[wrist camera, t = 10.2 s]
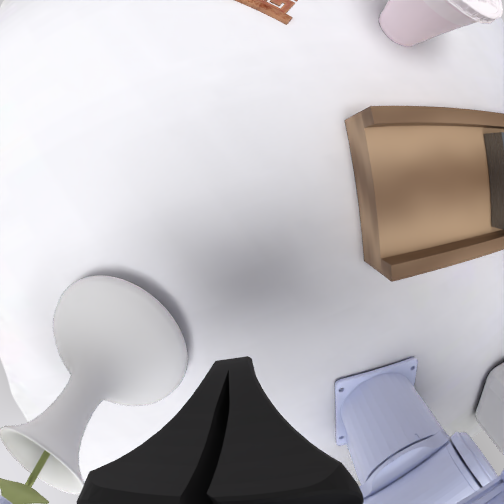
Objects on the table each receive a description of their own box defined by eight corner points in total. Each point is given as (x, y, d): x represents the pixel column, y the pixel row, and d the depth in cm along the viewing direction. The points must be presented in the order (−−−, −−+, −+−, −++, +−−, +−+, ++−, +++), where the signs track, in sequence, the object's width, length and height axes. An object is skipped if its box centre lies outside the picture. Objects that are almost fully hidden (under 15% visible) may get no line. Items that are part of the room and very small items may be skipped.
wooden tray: (524, 222, 20) (554, 231, 16) (364, 261, 20) (391, 281, 16) (516, 124, 17) (547, 122, 13) (344, 120, 18) (370, 106, 14)
